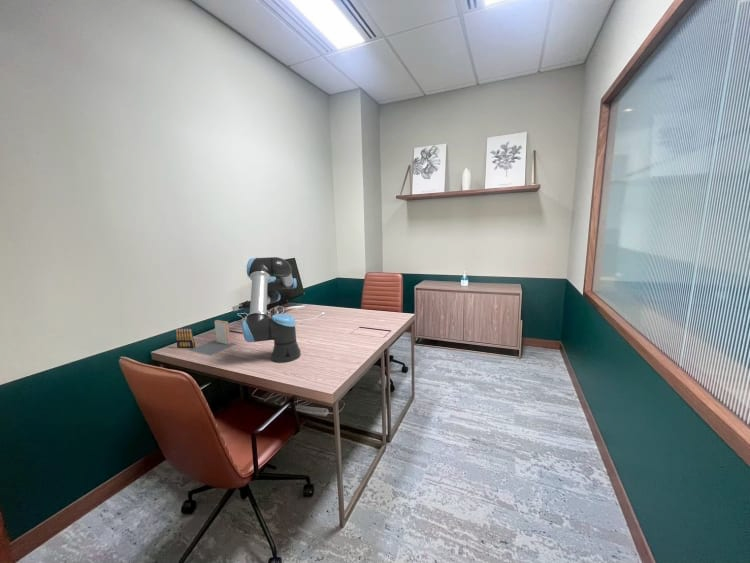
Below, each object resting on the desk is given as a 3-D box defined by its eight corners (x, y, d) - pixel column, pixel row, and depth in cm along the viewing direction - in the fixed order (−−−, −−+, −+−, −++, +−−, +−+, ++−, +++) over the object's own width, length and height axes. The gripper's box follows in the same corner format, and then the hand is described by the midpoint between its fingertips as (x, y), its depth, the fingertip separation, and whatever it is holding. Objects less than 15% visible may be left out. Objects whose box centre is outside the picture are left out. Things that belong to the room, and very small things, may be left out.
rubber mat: (237, 344, 180) (237, 344, 180) (210, 355, 165) (210, 355, 164) (216, 340, 189) (216, 339, 189) (188, 350, 173) (188, 349, 173)
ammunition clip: (177, 348, 177) (174, 329, 175) (179, 347, 179) (176, 328, 177) (193, 348, 175) (190, 329, 174) (195, 347, 177) (192, 328, 175)
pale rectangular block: (230, 343, 182) (228, 321, 179) (227, 344, 180) (224, 322, 177) (219, 341, 186) (217, 320, 184) (216, 342, 184) (213, 321, 182)
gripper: (269, 306, 207) (241, 315, 186) (255, 305, 212) (227, 313, 191) (268, 296, 205) (239, 304, 185) (254, 294, 211) (225, 302, 190)
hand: (233, 308), depth 188 cm, fingers closed
